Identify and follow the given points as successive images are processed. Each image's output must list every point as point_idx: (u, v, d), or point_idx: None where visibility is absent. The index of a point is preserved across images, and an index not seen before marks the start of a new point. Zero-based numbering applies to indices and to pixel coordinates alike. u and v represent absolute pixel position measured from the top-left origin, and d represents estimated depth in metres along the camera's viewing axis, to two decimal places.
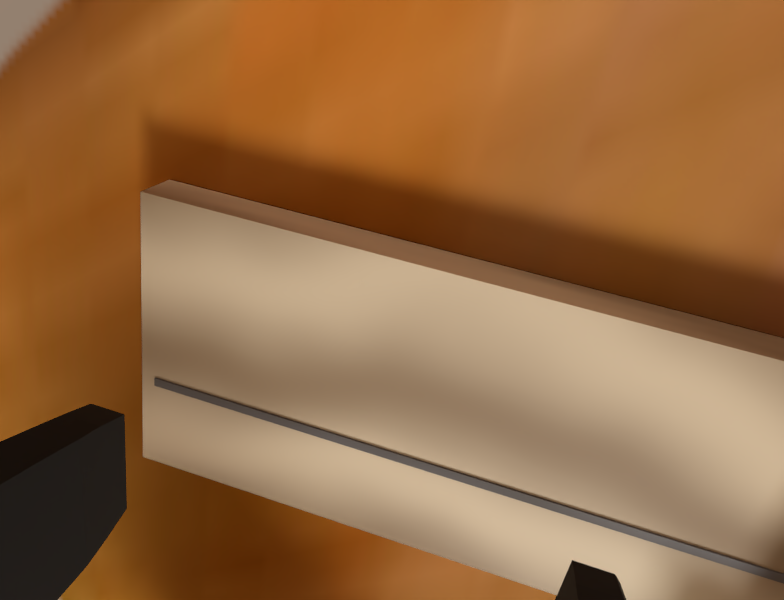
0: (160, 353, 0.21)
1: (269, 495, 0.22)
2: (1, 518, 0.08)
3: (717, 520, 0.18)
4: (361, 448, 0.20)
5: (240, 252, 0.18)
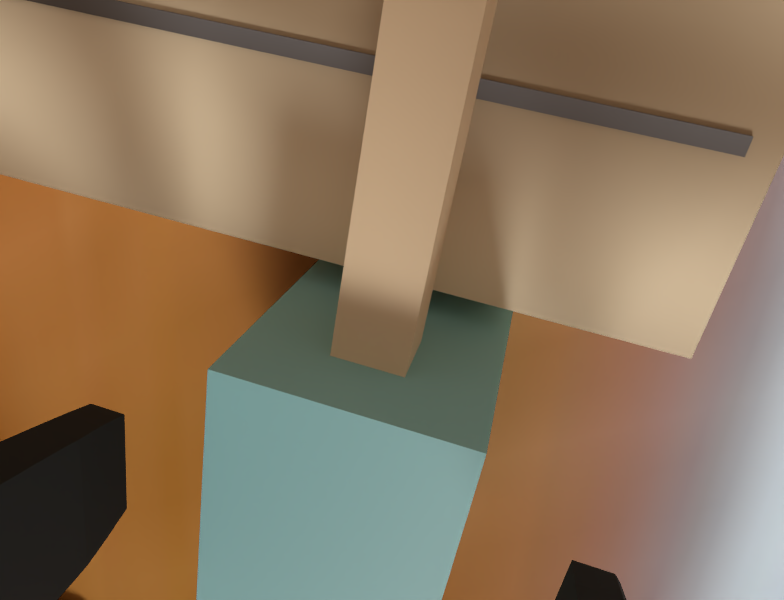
0: None
1: None
2: (1, 518, 0.08)
3: None
4: None
5: None
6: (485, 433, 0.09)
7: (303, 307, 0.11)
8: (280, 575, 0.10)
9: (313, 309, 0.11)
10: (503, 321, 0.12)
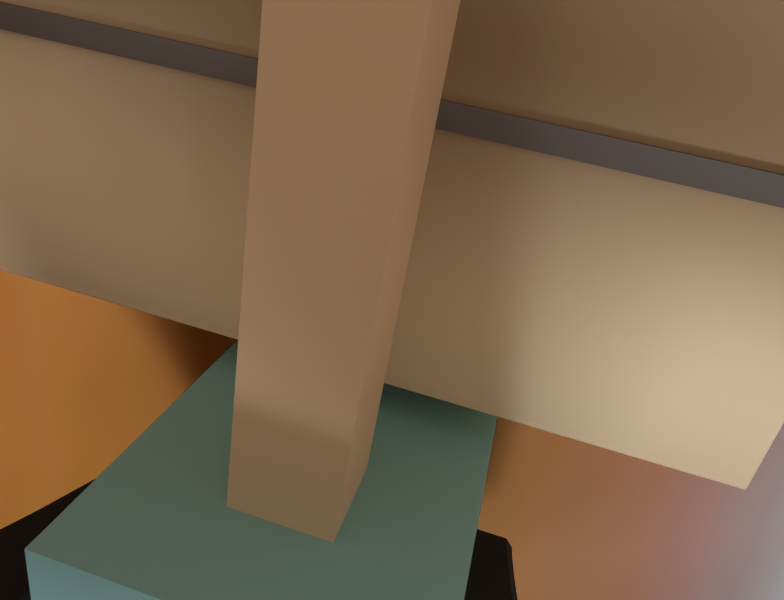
0: None
1: None
2: None
3: None
4: None
5: None
6: None
7: (206, 415, 0.08)
8: None
9: (220, 418, 0.08)
10: (485, 425, 0.09)
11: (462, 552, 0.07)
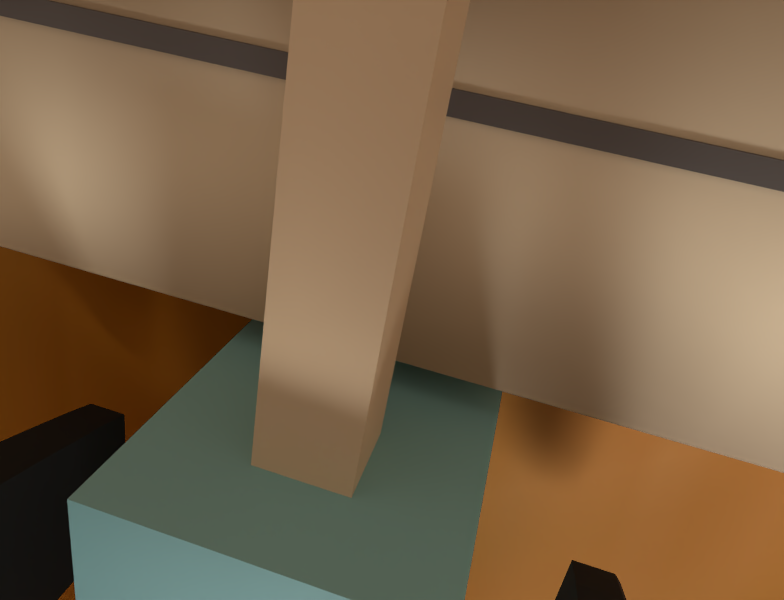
0: None
1: (164, 284, 0.09)
2: (1, 518, 0.08)
3: None
4: None
5: None
6: (458, 596, 0.06)
7: (228, 385, 0.08)
8: None
9: (241, 388, 0.08)
10: (491, 396, 0.09)
11: (471, 508, 0.07)
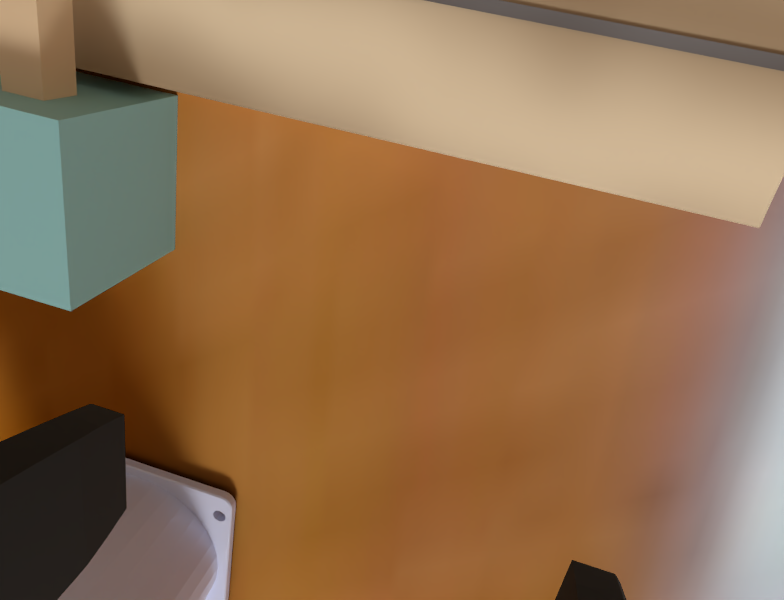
0: None
1: None
2: (1, 518, 0.08)
3: None
4: None
5: None
6: (68, 117, 0.15)
7: None
8: None
9: None
10: (153, 98, 0.18)
11: (101, 109, 0.16)
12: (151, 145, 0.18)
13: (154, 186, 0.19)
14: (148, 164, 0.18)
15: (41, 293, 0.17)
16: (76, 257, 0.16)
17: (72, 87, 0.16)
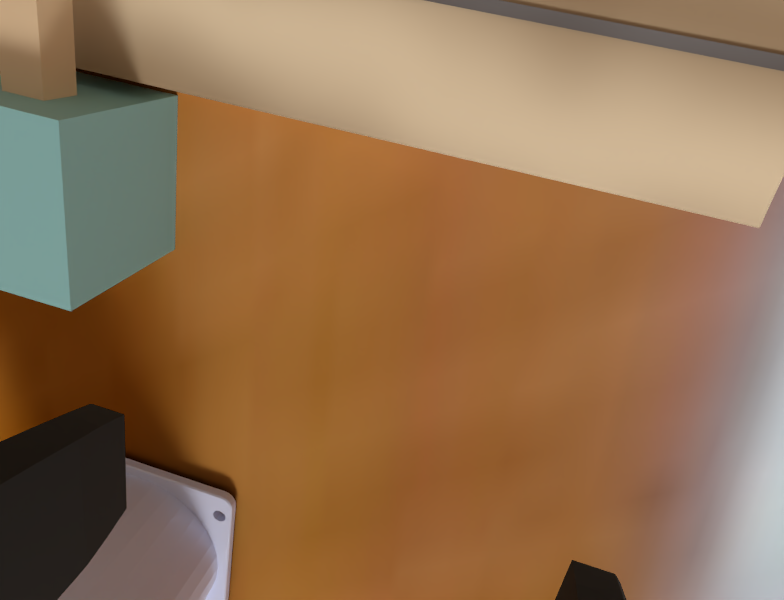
0: None
1: None
2: (1, 518, 0.08)
3: None
4: None
5: None
6: (68, 117, 0.15)
7: None
8: None
9: None
10: (153, 98, 0.18)
11: (101, 109, 0.16)
12: (151, 145, 0.18)
13: (154, 186, 0.19)
14: (148, 164, 0.18)
15: (41, 293, 0.17)
16: (76, 257, 0.16)
17: (72, 87, 0.16)
